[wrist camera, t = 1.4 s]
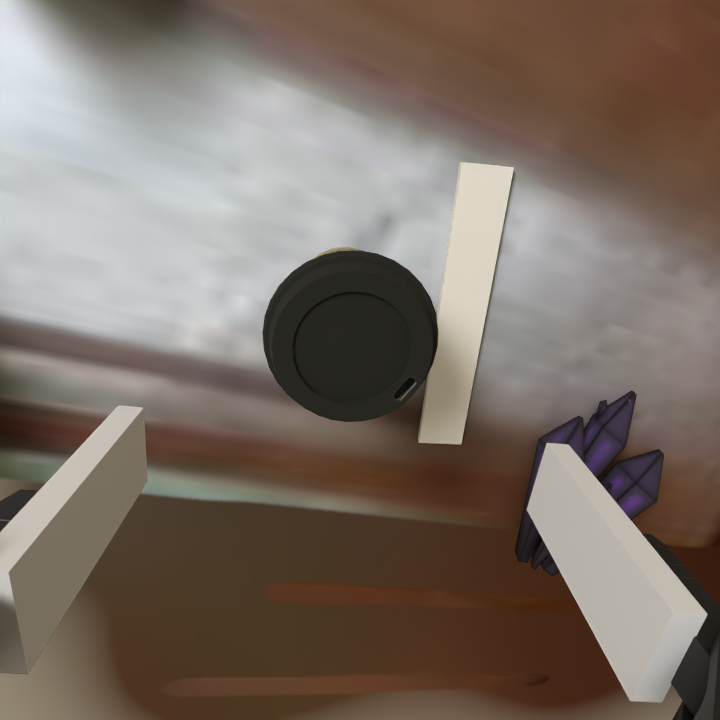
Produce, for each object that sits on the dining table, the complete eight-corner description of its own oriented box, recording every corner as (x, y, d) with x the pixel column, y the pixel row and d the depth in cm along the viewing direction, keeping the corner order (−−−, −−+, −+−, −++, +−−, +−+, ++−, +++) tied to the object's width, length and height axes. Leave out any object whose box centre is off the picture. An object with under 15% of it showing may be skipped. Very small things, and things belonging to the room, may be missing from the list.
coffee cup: (333, 195, 37) (337, 213, 23) (428, 275, 39) (484, 335, 26) (258, 295, 39) (220, 366, 25) (352, 364, 42) (365, 462, 28)
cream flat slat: (417, 439, 45) (419, 442, 45) (459, 162, 36) (461, 162, 36) (459, 441, 45) (461, 444, 45) (511, 167, 37) (513, 167, 36)
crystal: (591, 609, 46) (730, 449, 38) (482, 572, 45) (601, 399, 37) (567, 552, 53) (681, 404, 45) (471, 518, 52) (570, 361, 44)
